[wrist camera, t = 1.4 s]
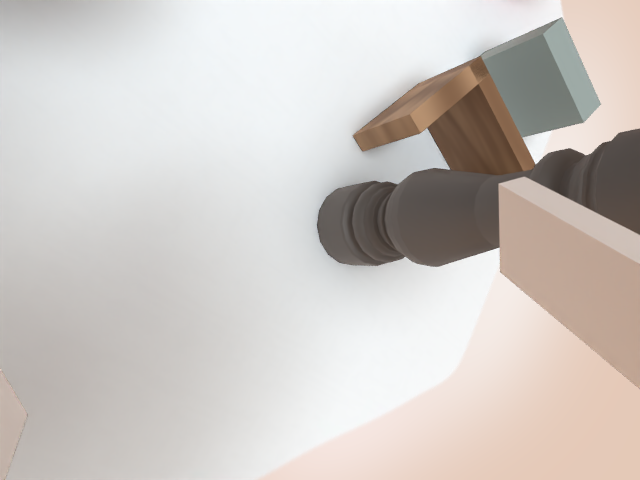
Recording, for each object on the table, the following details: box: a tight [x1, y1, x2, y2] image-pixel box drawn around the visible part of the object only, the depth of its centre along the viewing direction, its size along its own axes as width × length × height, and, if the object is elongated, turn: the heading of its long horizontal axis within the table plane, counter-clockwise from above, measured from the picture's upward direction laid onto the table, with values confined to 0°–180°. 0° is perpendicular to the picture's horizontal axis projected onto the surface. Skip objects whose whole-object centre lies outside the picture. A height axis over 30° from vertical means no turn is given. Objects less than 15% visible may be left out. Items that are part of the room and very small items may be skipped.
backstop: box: [479, 18, 601, 137], centre depth 46 cm, size 3×8×8 cm, turn 38°
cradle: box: [353, 56, 535, 175], centre depth 41 cm, size 8×11×7 cm
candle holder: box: [317, 129, 640, 267], centre depth 30 cm, size 6×6×25 cm
